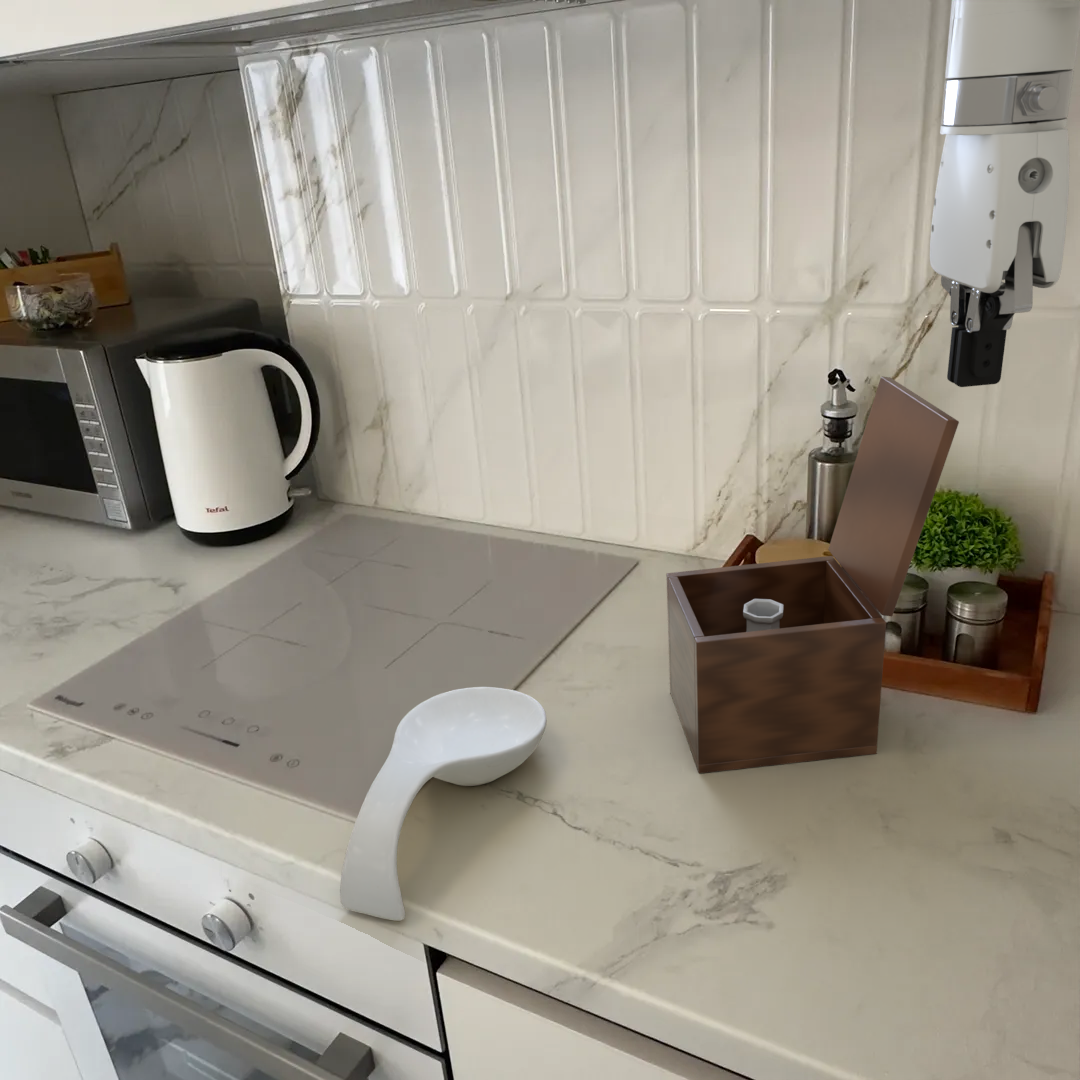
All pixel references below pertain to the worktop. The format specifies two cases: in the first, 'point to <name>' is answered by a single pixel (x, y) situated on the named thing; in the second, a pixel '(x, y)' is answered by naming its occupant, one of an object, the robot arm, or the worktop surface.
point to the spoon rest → (422, 753)
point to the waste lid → (891, 491)
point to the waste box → (774, 665)
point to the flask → (762, 614)
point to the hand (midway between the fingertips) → (973, 382)
